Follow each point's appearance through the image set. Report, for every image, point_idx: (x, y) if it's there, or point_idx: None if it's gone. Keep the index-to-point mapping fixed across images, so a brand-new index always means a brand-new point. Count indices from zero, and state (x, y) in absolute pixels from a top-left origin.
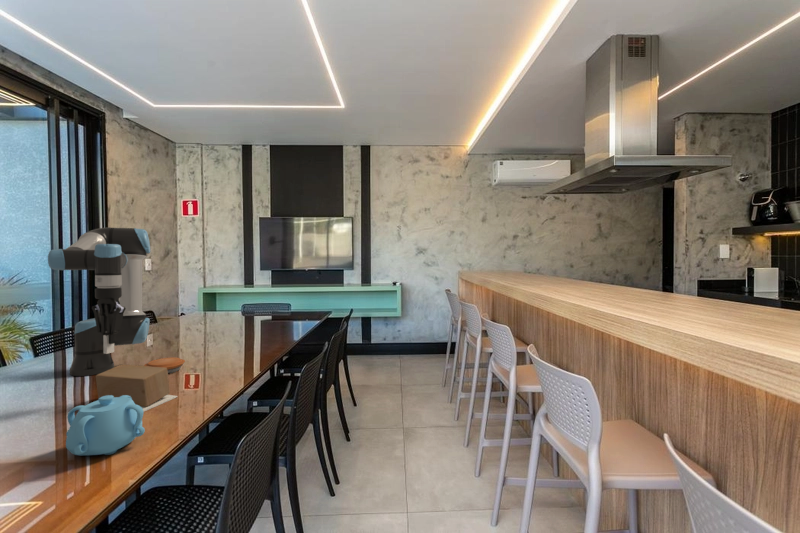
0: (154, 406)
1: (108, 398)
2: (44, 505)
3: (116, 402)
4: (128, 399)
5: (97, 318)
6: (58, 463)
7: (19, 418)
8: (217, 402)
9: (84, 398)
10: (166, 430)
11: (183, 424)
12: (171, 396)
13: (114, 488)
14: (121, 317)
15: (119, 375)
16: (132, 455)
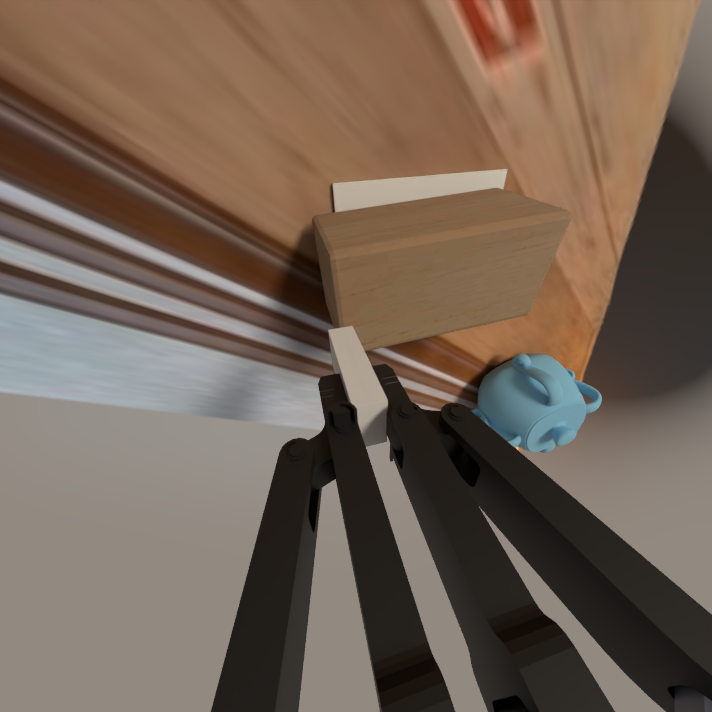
0: None
1: (573, 438)
2: None
3: (568, 420)
4: (581, 406)
5: (303, 654)
6: None
7: (262, 409)
8: (633, 160)
9: (239, 297)
10: (564, 320)
11: (585, 293)
12: (492, 182)
13: None
14: (619, 551)
15: (432, 328)
16: None
